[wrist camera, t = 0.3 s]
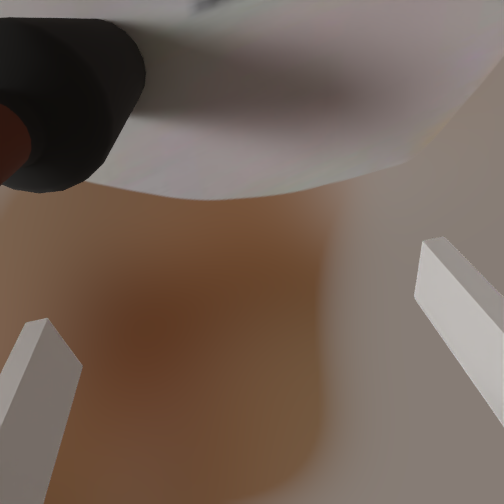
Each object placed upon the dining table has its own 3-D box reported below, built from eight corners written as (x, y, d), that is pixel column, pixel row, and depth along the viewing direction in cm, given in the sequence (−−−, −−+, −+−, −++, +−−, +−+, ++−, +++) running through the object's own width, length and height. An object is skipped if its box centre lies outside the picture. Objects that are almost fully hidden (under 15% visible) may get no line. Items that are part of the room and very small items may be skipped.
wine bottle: (133, 125, 36) (22, 372, 11) (48, 93, 33) (-361, 320, 8) (155, 43, 32) (70, 121, 7) (63, 1, 30) (-548, -100, 5)
